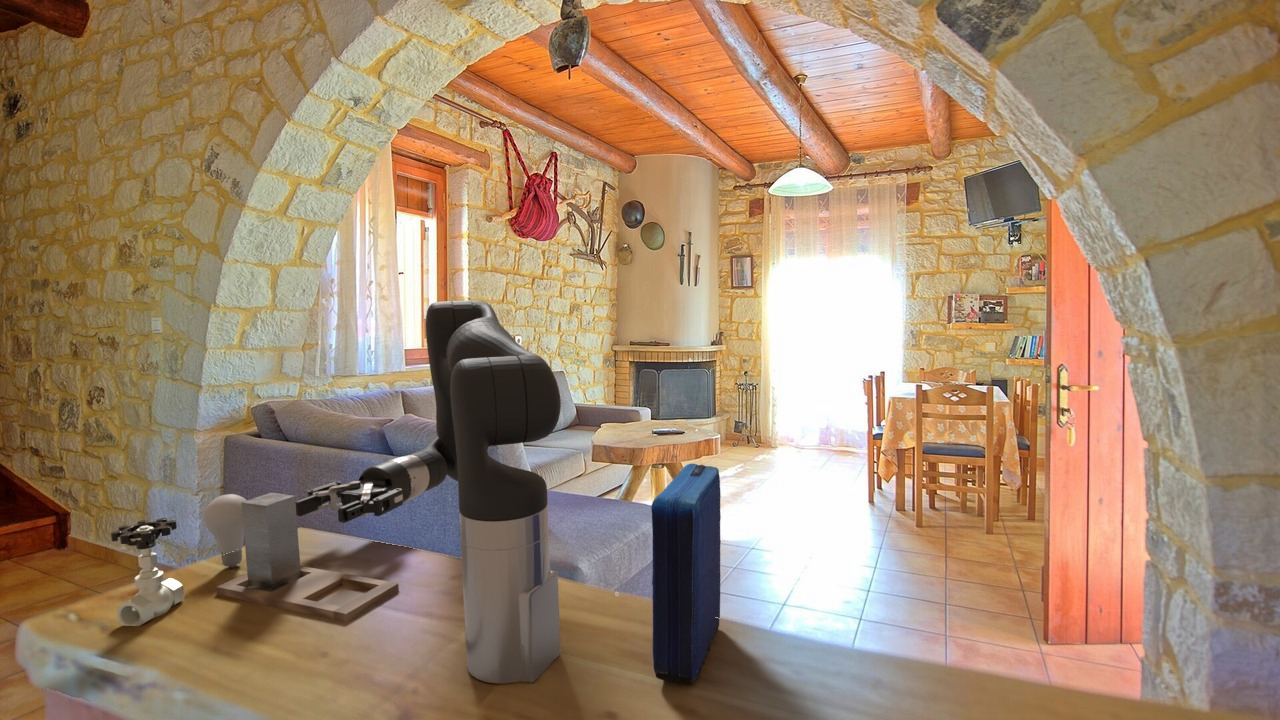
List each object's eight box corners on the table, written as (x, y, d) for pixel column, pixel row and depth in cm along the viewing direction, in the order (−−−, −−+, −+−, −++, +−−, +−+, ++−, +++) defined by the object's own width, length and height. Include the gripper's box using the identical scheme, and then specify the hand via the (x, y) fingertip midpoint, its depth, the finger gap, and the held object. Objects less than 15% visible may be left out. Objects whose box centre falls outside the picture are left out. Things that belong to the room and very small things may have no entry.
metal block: (301, 580, 94) (294, 495, 93) (273, 594, 90) (265, 505, 89) (277, 575, 96) (270, 492, 95) (248, 589, 92) (241, 502, 91)
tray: (399, 596, 91) (398, 583, 91) (347, 627, 83) (346, 613, 82) (275, 573, 99) (274, 561, 99) (217, 599, 91) (216, 586, 91)
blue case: (683, 620, 83) (680, 458, 81) (726, 626, 81) (725, 461, 79) (648, 687, 69) (644, 494, 67) (700, 695, 67) (697, 498, 65)
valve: (197, 607, 89) (188, 518, 88) (156, 632, 82) (147, 536, 81) (150, 606, 90) (141, 517, 88) (106, 631, 83) (96, 535, 82)
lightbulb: (264, 563, 103) (258, 492, 102) (222, 578, 98) (215, 503, 96) (242, 555, 106) (236, 486, 105) (200, 570, 101) (193, 497, 100)
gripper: (360, 456, 117) (279, 483, 102) (428, 463, 112) (353, 492, 97) (363, 499, 118) (283, 532, 103) (431, 508, 113) (357, 543, 98)
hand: (317, 513), depth 100 cm, fingers open, 8 cm apart
